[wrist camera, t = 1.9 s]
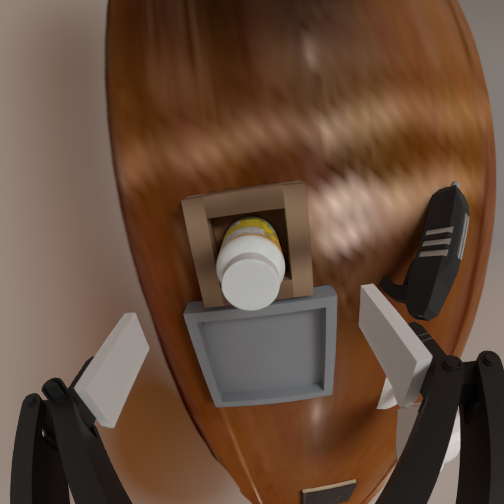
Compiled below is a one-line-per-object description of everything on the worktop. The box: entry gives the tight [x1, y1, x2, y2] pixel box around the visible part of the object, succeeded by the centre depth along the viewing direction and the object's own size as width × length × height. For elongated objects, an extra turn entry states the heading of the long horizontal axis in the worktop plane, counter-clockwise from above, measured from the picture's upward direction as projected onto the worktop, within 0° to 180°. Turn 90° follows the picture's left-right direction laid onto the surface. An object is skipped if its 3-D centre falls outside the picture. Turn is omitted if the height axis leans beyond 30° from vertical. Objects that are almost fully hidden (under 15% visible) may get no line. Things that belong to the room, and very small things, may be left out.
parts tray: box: [183, 285, 337, 407], centre depth 31 cm, size 16×16×2 cm
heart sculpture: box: [377, 377, 460, 472], centre depth 27 cm, size 16×5×18 cm, turn 7°
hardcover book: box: [302, 479, 358, 504], centre depth 55 cm, size 16×23×2 cm
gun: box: [381, 181, 469, 321], centre depth 25 cm, size 3×16×10 cm, turn 147°
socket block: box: [181, 181, 313, 308], centre depth 26 cm, size 11×11×2 cm
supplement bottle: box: [216, 217, 285, 311], centre depth 23 cm, size 5×5×10 cm
